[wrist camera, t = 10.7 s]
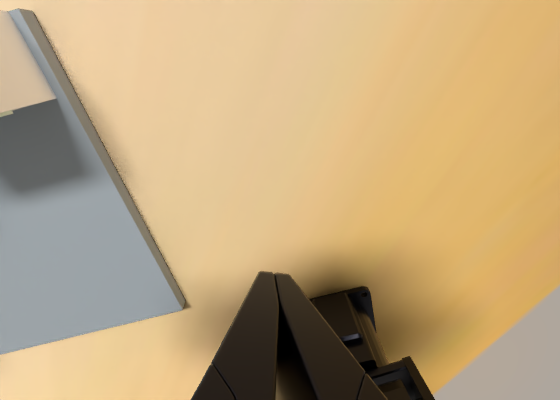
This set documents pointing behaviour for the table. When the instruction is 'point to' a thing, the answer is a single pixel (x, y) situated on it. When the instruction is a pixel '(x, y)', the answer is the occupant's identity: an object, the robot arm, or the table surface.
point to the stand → (64, 209)
